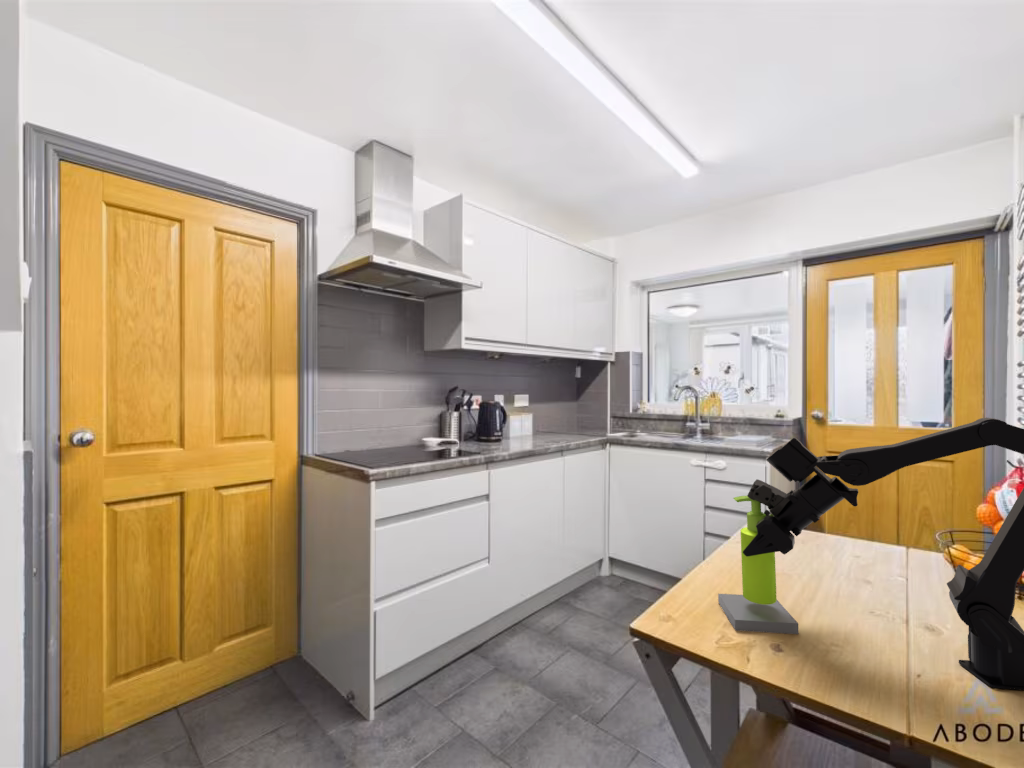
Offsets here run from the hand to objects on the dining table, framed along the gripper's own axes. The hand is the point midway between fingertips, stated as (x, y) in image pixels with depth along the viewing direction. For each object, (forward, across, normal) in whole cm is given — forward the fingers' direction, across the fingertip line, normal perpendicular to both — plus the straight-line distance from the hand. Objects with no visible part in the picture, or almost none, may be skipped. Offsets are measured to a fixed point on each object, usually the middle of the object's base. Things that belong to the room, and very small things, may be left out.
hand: (747, 549), depth 92 cm
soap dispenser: (+6, 0, +8) cm, 10 cm away
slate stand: (+9, 0, +10) cm, 13 cm away
